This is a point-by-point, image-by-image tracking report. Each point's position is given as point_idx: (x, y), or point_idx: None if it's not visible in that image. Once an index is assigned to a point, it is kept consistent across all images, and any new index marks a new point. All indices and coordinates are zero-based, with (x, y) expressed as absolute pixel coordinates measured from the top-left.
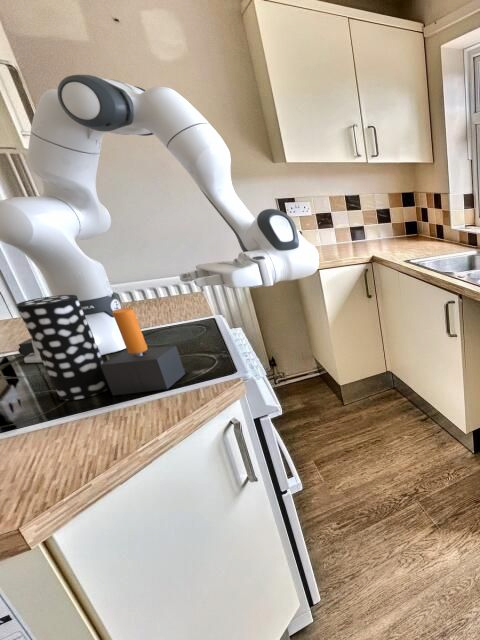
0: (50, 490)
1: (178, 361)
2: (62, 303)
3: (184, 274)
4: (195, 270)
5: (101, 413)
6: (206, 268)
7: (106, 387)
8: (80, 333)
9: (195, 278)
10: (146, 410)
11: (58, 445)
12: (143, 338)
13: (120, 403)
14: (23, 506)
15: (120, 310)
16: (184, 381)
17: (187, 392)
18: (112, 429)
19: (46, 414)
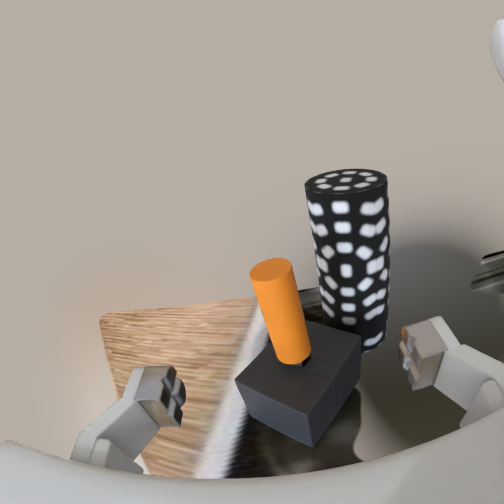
0: (118, 324)
1: (300, 429)
2: (310, 195)
3: (408, 336)
4: (495, 376)
5: (240, 349)
6: (401, 452)
7: None
8: (324, 258)
9: (159, 367)
10: (193, 385)
11: (191, 325)
12: (281, 345)
13: None
14: (117, 315)
15: (271, 266)
16: (266, 441)
17: (203, 434)
18: (176, 356)
19: None
